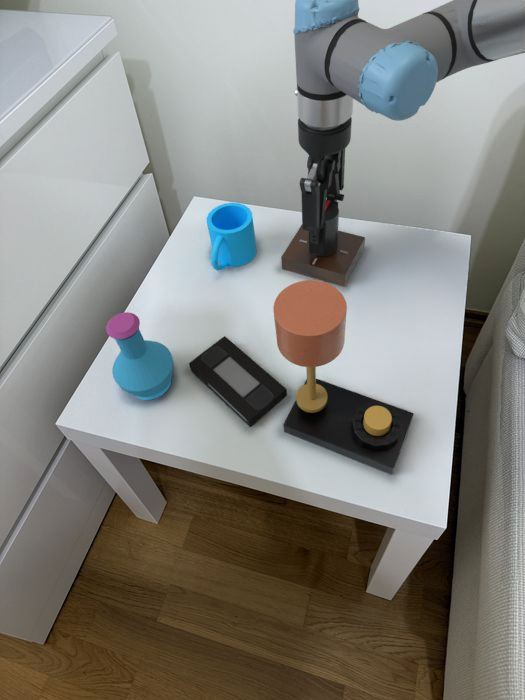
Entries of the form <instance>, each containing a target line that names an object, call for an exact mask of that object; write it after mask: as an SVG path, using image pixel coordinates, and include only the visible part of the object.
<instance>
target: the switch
mask: <svg viewBox="0 0 525 700" xmlns="http://www.w3.org/2000/svg"><path fill="white" fill-rule="evenodd" d="M391 422H392V416H391V414H390V412H389V411H388V410H387V409H386V408H384V407H382V406H372V407H370V408H368V409H367V410H366V412H365V414H364V420H363V426H364V429H365V430H366V431H367V432H368V433H369V434H371V435H373V436H382V435H385V434H386V433H387V432H388V431H389V429H390V426H391Z"/></svg>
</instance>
